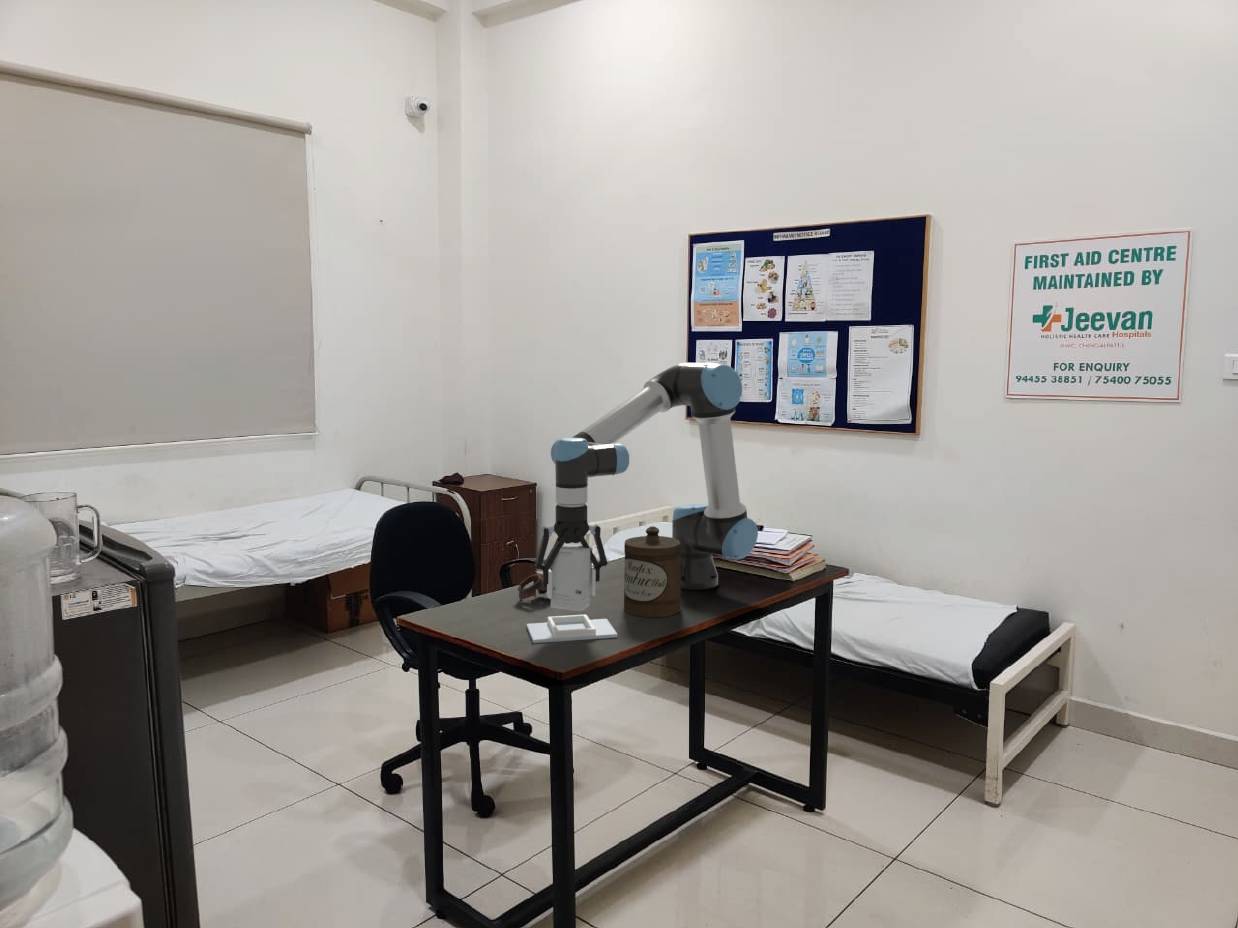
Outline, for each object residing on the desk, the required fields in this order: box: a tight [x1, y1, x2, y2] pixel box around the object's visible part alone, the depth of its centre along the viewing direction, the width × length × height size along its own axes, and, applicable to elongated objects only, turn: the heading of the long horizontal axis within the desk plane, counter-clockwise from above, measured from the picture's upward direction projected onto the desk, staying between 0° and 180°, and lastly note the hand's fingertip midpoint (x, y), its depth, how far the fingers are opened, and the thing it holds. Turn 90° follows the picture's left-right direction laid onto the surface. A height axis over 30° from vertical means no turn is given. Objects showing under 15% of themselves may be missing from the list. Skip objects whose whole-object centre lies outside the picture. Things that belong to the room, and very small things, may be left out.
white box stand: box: [526, 614, 618, 644], centre depth 213 cm, size 20×12×2 cm, turn 103°
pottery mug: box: [517, 573, 547, 601], centre depth 240 cm, size 12×10×8 cm
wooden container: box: [623, 525, 682, 618], centre depth 231 cm, size 15×15×22 cm
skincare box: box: [550, 543, 593, 612], centre depth 212 cm, size 8×6×15 cm
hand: (571, 595), depth 212 cm, fingers closed on skincare box, 10 cm apart
